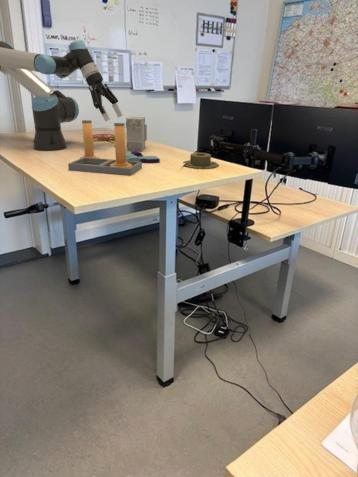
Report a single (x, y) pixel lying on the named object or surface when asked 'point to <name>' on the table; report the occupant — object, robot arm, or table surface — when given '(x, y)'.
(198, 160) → the flange
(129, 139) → the circuit breaker
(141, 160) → the pistol
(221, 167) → the table surface
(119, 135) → the orange capped peg
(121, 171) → the tray
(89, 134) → the orange joystick peg
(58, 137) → the robot arm
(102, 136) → the mechanical gear assembly
